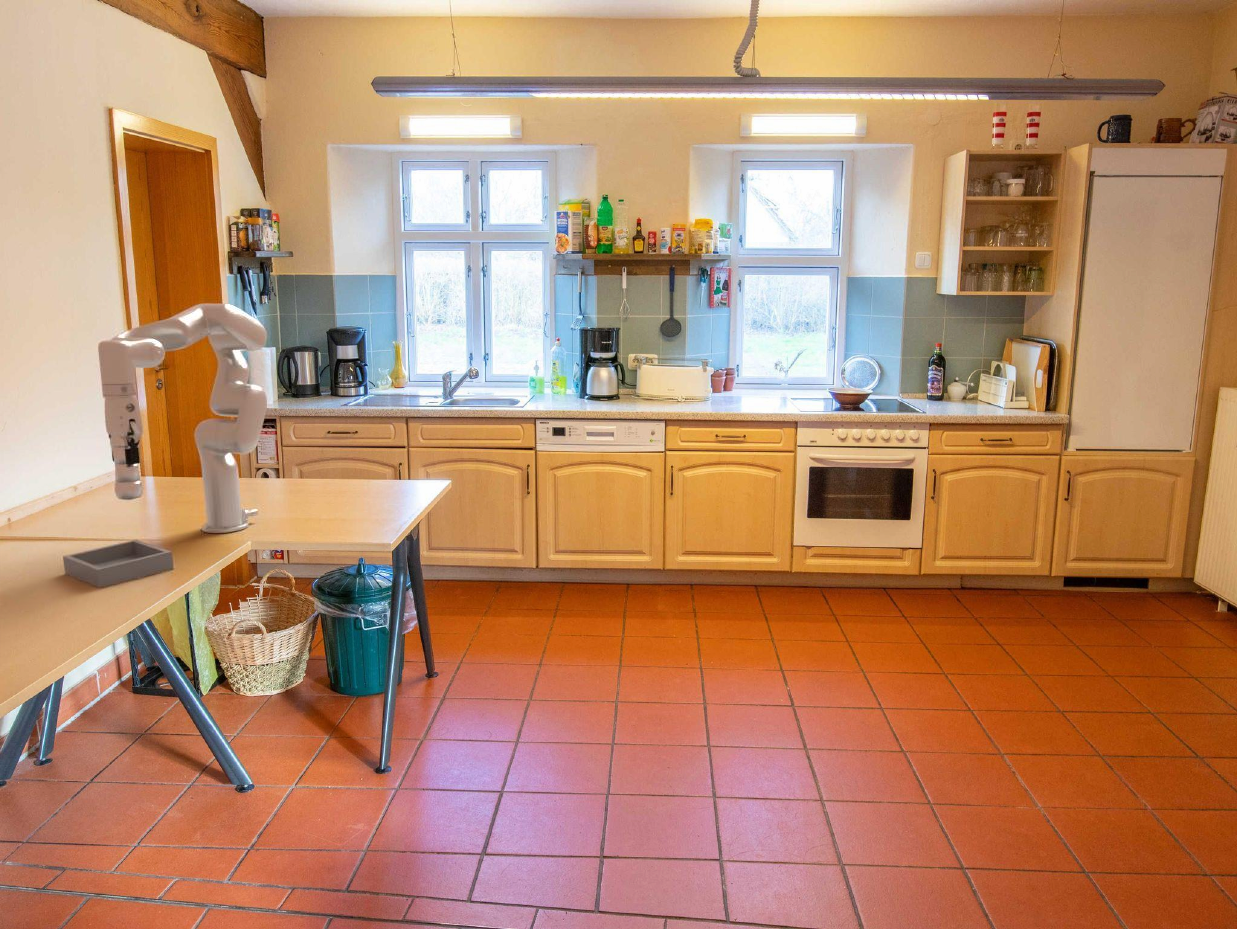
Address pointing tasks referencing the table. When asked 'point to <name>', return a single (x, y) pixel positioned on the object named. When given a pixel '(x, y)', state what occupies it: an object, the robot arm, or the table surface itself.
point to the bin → (117, 563)
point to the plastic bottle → (125, 472)
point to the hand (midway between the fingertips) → (126, 461)
